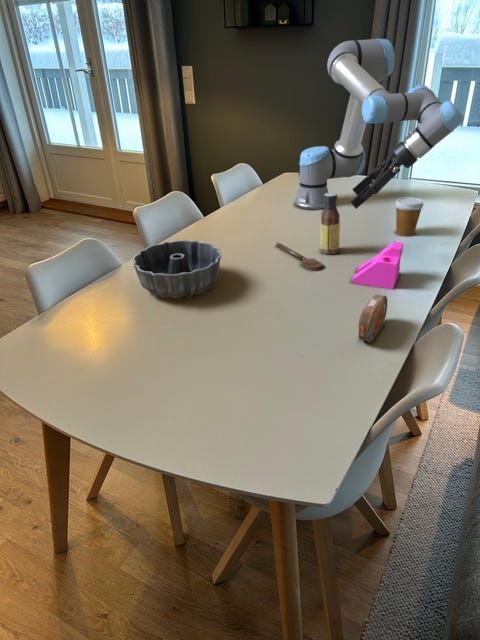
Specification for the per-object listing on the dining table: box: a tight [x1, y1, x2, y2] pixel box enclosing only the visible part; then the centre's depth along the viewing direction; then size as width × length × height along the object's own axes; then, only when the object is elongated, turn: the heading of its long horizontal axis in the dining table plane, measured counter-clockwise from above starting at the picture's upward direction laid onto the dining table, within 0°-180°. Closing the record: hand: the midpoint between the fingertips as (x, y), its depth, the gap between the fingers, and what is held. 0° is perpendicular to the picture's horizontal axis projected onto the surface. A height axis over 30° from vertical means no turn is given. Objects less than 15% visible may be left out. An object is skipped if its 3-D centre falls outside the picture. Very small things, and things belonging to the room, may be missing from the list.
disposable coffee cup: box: [395, 196, 425, 237], centre depth 168 cm, size 10×10×12 cm
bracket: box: [351, 241, 404, 290], centre depth 139 cm, size 12×10×10 cm
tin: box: [358, 294, 388, 343], centre depth 114 cm, size 15×3×8 cm, turn 148°
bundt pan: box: [132, 239, 223, 299], centre depth 141 cm, size 26×26×10 cm
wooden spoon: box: [275, 242, 323, 271], centre depth 157 cm, size 24×5×2 cm, turn 29°
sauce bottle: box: [320, 192, 341, 255], centre depth 155 cm, size 6×6×20 cm
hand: (354, 198), depth 149 cm, fingers open, 13 cm apart
